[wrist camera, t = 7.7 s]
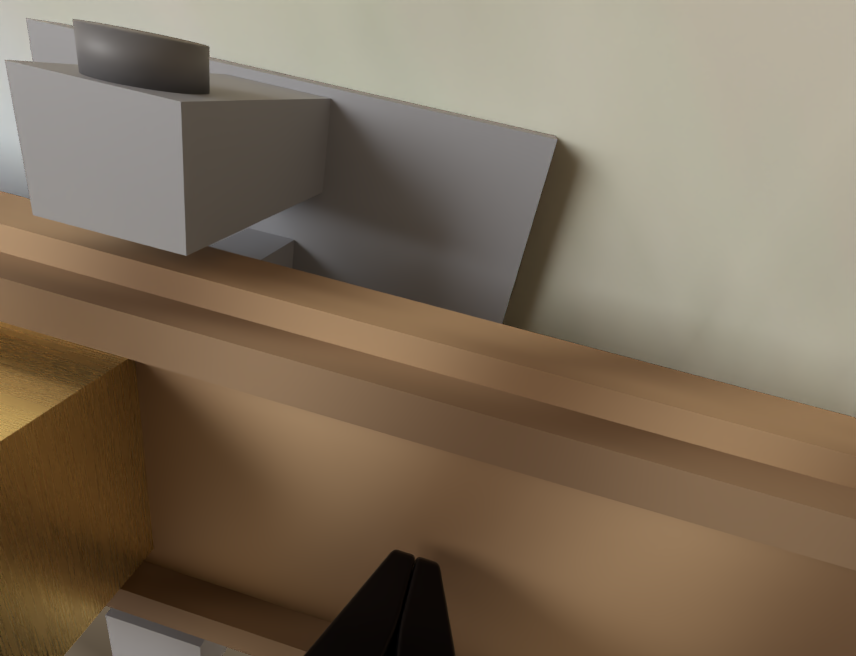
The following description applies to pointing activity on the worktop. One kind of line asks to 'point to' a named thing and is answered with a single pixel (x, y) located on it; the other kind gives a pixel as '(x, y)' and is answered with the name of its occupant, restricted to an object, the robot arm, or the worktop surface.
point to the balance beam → (443, 465)
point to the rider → (66, 488)
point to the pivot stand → (269, 182)
